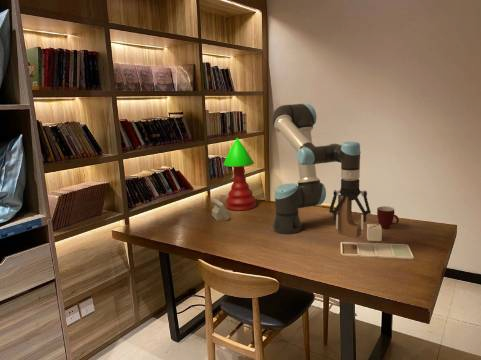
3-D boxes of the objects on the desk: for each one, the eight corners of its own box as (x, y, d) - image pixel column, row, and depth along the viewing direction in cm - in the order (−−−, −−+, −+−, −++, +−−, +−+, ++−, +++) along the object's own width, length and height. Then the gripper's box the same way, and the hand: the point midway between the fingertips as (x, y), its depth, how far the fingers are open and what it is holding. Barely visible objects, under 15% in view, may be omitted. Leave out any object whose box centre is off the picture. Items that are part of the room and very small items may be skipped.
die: (367, 240, 169) (368, 228, 168) (366, 235, 175) (367, 223, 174) (381, 240, 168) (381, 228, 167) (380, 236, 174) (380, 224, 172)
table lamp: (245, 212, 223) (241, 139, 213) (219, 209, 234) (214, 139, 224) (261, 204, 239) (258, 135, 229) (236, 201, 250) (232, 135, 240)
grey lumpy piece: (230, 220, 209) (228, 203, 207) (214, 222, 208) (213, 204, 205) (225, 212, 225) (224, 196, 222) (211, 214, 223) (209, 197, 221)
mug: (400, 227, 183) (401, 208, 181) (396, 232, 177) (397, 212, 175) (379, 224, 190) (380, 205, 188) (374, 228, 184) (375, 209, 182)
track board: (340, 255, 155) (340, 254, 155) (340, 243, 168) (340, 241, 168) (414, 259, 148) (414, 257, 148) (407, 245, 161) (407, 244, 161)
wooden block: (361, 235, 158) (362, 195, 154) (356, 238, 155) (357, 198, 151) (342, 231, 164) (342, 192, 160) (337, 234, 161) (337, 195, 157)
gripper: (322, 180, 153) (322, 230, 158) (379, 180, 148) (377, 232, 153) (323, 176, 160) (323, 224, 165) (377, 176, 155) (375, 226, 160)
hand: (349, 228), depth 159 cm, fingers closed on wooden block, 10 cm apart
